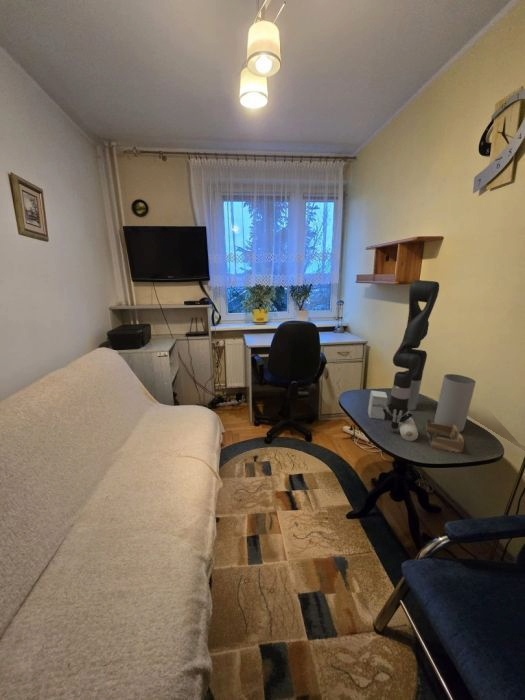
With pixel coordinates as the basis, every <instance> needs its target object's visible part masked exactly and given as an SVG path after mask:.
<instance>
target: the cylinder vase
mask: <svg viewBox="0 0 525 700" xmlns="http://www.w3.org/2000/svg"><path fill="white" fill-rule="evenodd" d="M476 383H477V382H476V380H475V379H473V378H471V377H468V376H466V375H461V374H455V373H447V374H444V376H443V379H442V384H441V388H440V394H439V397H438V402H437V407H436V412H435V416H434V421H433V423H438V424H443V425H449V426H452V424H455V425H456V427H457V429H458V431H459V432H460V433H461V432H462V431H464V429H465V426H466V422H467V417H468V414H469V410H470V407H471V406H470V405H471V402H472V399H473V394H474V389H475V387H476Z"/></svg>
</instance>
